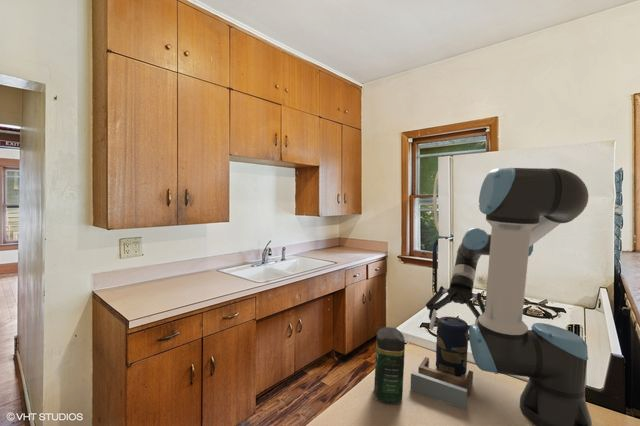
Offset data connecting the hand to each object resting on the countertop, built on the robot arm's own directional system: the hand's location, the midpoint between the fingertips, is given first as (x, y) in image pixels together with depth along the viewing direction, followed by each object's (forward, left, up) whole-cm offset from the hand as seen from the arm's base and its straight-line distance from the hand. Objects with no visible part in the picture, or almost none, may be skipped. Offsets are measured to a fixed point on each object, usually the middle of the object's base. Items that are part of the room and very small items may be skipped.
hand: (451, 333), depth 105 cm
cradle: (0, +9, -12) cm, 15 cm away
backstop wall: (0, +19, -12) cm, 22 cm away
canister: (0, +2, -12) cm, 12 cm away
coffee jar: (+12, +26, -12) cm, 31 cm away
